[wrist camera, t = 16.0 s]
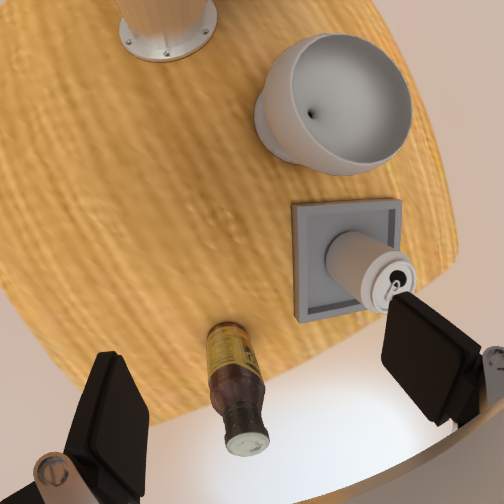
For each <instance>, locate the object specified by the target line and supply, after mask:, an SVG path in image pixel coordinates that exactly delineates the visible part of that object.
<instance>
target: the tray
mask: <svg viewBox="0 0 504 504" xmlns="http://www.w3.org/2000/svg"><path fill="white" fill-rule="evenodd" d="M291 219H292V244H293V280H294V316H295V318H296V319H297V321H298V322H299V324H301V323H306V322H311V321H316V320H321V319H326V318H331V317H336V316H340V315H345V314H349V313H354V312H358V311H363V310H367V308H365V307H364V306H363V305H362V304H361V303H360V302H359V301H358V300H356V299H355V298H354V297H353V296H352V295H351V294H350V293H349V292H347V291H346V290H345V289H344V288H343V287H342V286H341V285H340V284H338V283H337V282H336V281H335V280H334V279H333V278H332V277H331V276H330V274H329V273H328V271H327V267H326V256H327V252H328V250H329V247H330V246H331V244H332V243H333V242H334V240H335V239H336V238H338V237H339V236H340V235H342V234H344V233H347V232H349V231H357V232H359V233H362V234H364V235H366V236H368V237H371V238H373V239H375V240H377V241H379V242H381V243H383V244H385V245H388V246H390V247H392V248H394V249H396V250H398V251H400V239H401V220H402V200H399V199H395V198H379V199H359V200H342V201H327V202H313V203H300V204H291Z"/></svg>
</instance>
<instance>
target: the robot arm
mask: <svg viewBox="0 0 504 504" xmlns="http://www.w3.org/2000/svg"><path fill="white" fill-rule="evenodd" d="M115 2H116V4H117V6H118V8H119V10H120V12H121V14H122V18H121V21H120V25H119V36H120V39H121V42H122V43H123V45H124V47H125V48H126V49H127V50H128V52H129V53H131V54H132V55H134V56H135V57H137V58H140V59H142V60H145V61H150V62H168V61H174V60H178V59H181V58H183V57H186V56H189V55H190V54H192V53H194V52H196V51H197V50H199V49H200V48H201V47H202V46H204V45H205V44H206V42H207V41H208V40H209V39H210V38H211V36H212V34H213V33H214V30H215V27H216V24H217V10H216V7H215V4H214V3H213V1H212V0H115ZM204 33H207V34H206V35H205V34H204ZM131 43H132V44H131ZM129 44H131V45H129ZM166 55H170V56H168V57H166ZM480 350H481V346H480V345H479V344H478V343H476V342H475V341H474V340H473V339H471V338H470V337H469V336H467V335H466V334H465V333H464V332H462V331H461V330H460V329H459V328H457V327H456V326H455V325H453V324H452V323H451V322H450V321H448V320H447V319H445V318H444V317H443V316H441V315H440V314H439V313H438V312H436V311H435V310H434V309H432V308H431V307H429V306H428V305H427V304H425V303H424V302H423V301H421V300H420V299H418V298H417V297H416V296H414V295H413V294H412V293H410V292H408V291H405V292H402V293H399V294H395V295H394V296H393V297H392V300H390V302H389V306H388V314H387V322H386V329H385V337H384V342H383V348H382V354H381V361H382V364H383V365H384V367H385V368H386V369H387V370H388V371H389V373H390V374H391V375H392V376H393V377H394V379H395V380H396V381H397V382H398V383H399V385H400V386H401V387H402V388H403V389H404V391H405V392H406V393H407V394H408V395H409V396H410V398H411V399H412V400H413V402H414V403H415V404H416V405H417V406H418V408H419V409H420V410H421V411H422V413H423V414H424V415H425V416H426V417H427V419H428V420H429V421H431V422H434V423H435V424H436V425H437V426H438V427H439V426H440V425H442V424H443V423H445V422H446V421H448V420H449V418H451V419H452V420H453V430H452V434H450V435H449V436H447V437H446V438H444V439H443V440H441V441H440V442H438V443H436V444H434V445H433V446H431V447H429V448H427V449H426V450H424V451H422V452H421V453H419V454H417V455H415V456H413V457H411V458H409V459H408V460H406V461H404V462H402V463H400V464H398V465H396V466H394V467H392V468H390V469H388V470H385V471H384V472H381V473H379V474H377V475H374V476H372V477H370V478H367V479H365V480H363V481H360V482H358V483H355V484H353V485H350V486H348V487H345V488H342V489H339V490H336V491H334V492H331V493H328V494H325V495H322V496H318V497H315V498H312V499H308V500H305V501H301V502H297V503H294V504H504V347H499V346H492V347H489V348H487V349H486V350H485V351H484V353H483V355H481V354H480V353H479V352H480ZM148 428H149V411H148V408H147V406H146V404H145V402H144V400H143V398H142V396H141V394H140V392H139V390H138V388H137V386H136V384H135V382H134V380H133V378H132V376H131V374H130V372H129V370H128V368H127V365H126V363H125V361H124V359H123V357H122V356H121V355H117V353H116V352H115V351H109V352H100V353H98V354H97V357H96V359H95V362H94V364H93V367H92V369H91V372H90V375H89V377H88V380H87V383H86V385H85V388H84V391H83V393H82V395H81V398H80V401H79V403H78V406H77V409H76V412H75V415H74V419H73V422H72V425H71V428H70V432H69V434H68V438H67V441H66V445H65V449H64V452H63V453H59V452H50V453H47V454H45V455H43V456H42V457H41V458H39V460H38V461H37V462H36V464H35V467H34V471H33V476H34V480H35V481H34V482H32V483H30V484H29V485H27V486H26V487H24V488H22V489H20V490H19V491H17V492H15V493H14V494H12V495H10V496H9V497H7V498H5V499H3V500H2V501H1V502H0V504H140V497H143V496H144V494H145V472H146V453H147V439H148Z"/></svg>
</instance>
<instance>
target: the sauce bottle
mask: <svg viewBox="0 0 504 504" xmlns="http://www.w3.org/2000/svg"><path fill="white" fill-rule="evenodd" d="M206 351H207V370H208V385H209V388H210V399H211V403H212V406H213V408H214V409H215V410H216V412H218V413H219V414H220V415H221V416H222V417H223V422H224V423H225V430H226V434H225V437H224V438H225V444H226V448H227V449H228V451H229V452H230V453H231V454H233V455H237V456H243V457H246V456H253V455H256V454H259V453H260V452H262V451H264V450H265V449H266V448H267V446H268V445H269V442H270V440H269V435H268V431H267V430H266V428H265V427H264V424H263V421H262V417H261V411H262V405H263V400H264V394H265V385H264V382H263V379H262V376H261V373H260V369H259V366H258V363H257V360H256V357H255V354H254V351H253V348H252V344H251V341H250V338H249V336H248V334H247V333H246V332H245V330H244V329H243V328H242V327H241V326H239V325H236V324H231V323H223V324H220V325H218V326H216V327H214V328H213V329H212V330H211V331H210V332H209V335H208V338H207V343H206Z"/></svg>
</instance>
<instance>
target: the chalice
mask: <svg viewBox="0 0 504 504" xmlns="http://www.w3.org/2000/svg"><path fill="white" fill-rule="evenodd" d="M412 113H413V109H412V100H411V95H410V91H409V88H408V85H407V82H406V80H405V78H404V76H403V74H402V72H401V71H400V69H399V68H398V67H397V65H396V64H395V63H394V61H393V60H392V59H391V58H390V57H389V56H388V55H387V54H386V53H385V52H384V51H383V50H381V49H380V48H378V47H377V46H376V45H374V44H372V43H371V42H369V41H366V40H364V39H362V38H359V37H357V36H353V35H348V34H343V33H324V34H319V35H315V36H312V37H308V38H305V39H303V40H301V41H299V42H297V43H296V44H294V45H292V46H291V47H289V48H288V49H286V50H285V51H284V52H283V53H282V54H281V55H280V56H279V57H278V58H277V59H276V60H275V61H274V63H273V65H272V67H271V69H270V71H269V73H268V75H267V77H266V81H265V85H264V89H263V90H262V91H261V92H260V94H259V96H258V98H257V100H256V103H255V107H254V124H255V129H256V132H257V134H258V136H259V138H260V140H261V142H262V143H263V144H264V146H265V147H266V148H267V150H269V151H270V152H271V153H272V154H273V155H274V156H276V157H278V158H279V159H281V160H283V161H285V162H288V163H292V164H295V165H304V166H306V167H308V168H310V169H312V170H314V171H317V172H321V173H325V174H329V175H333V176H350V175H355V174H359V173H363V172H367V171H370V170H373V169H375V168H376V167H378V166H380V165H382V164H384V163H385V162H387V161H389V160H390V159H391V158H392V157H393V156H394V155H395V154H396V153H397V152H398V151H399V150H400V148H401V147H402V145H403V144H404V142H405V140H406V139H407V137H408V134H409V130H410V127H411V124H412Z"/></svg>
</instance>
